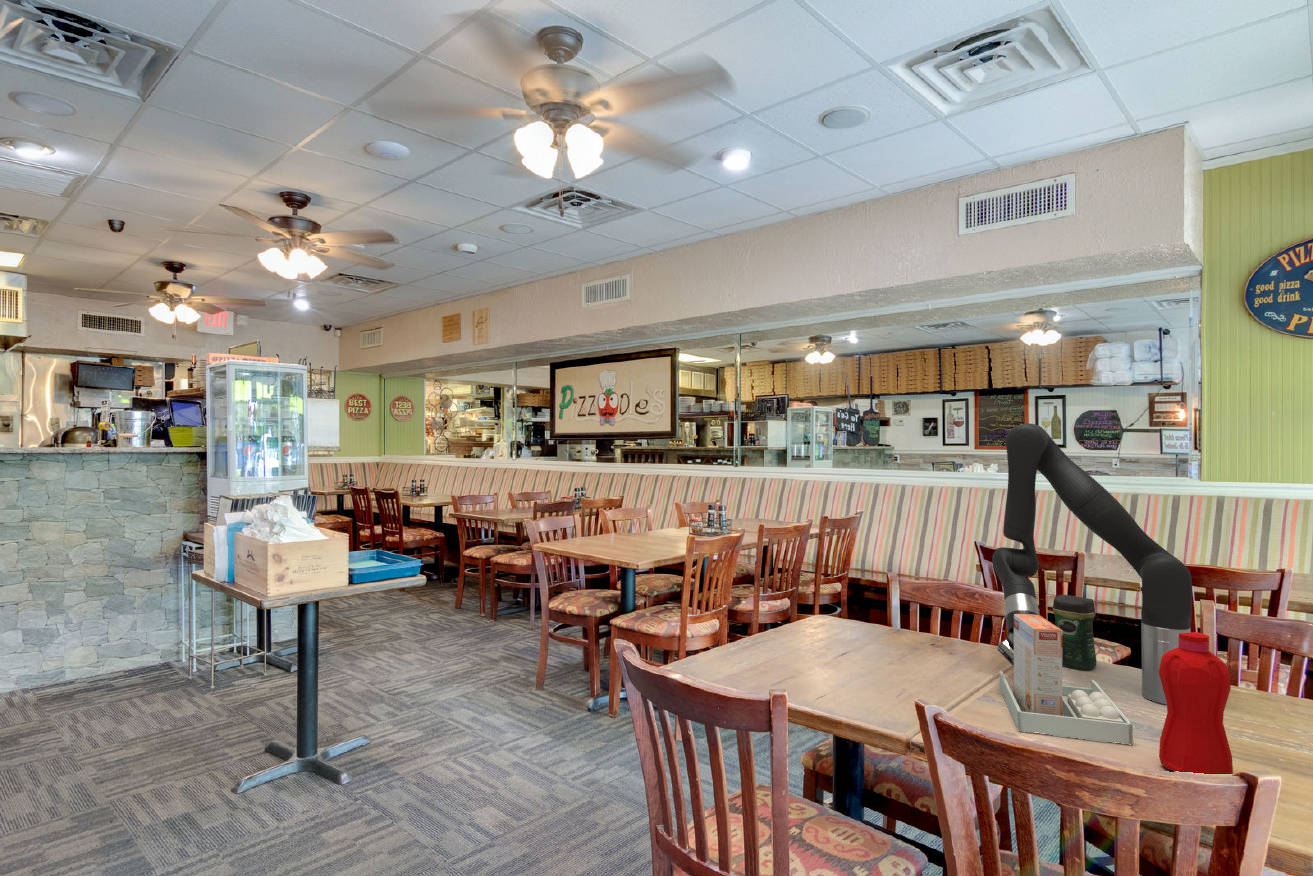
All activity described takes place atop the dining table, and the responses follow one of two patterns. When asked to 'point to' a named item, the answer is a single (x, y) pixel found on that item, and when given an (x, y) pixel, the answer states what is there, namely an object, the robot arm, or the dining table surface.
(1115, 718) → the egg carton
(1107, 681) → the dining table surface
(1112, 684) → the dining table surface
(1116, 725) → the grey shallow rectangular frame
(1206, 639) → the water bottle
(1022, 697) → the cracker box
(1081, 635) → the coffee jar
